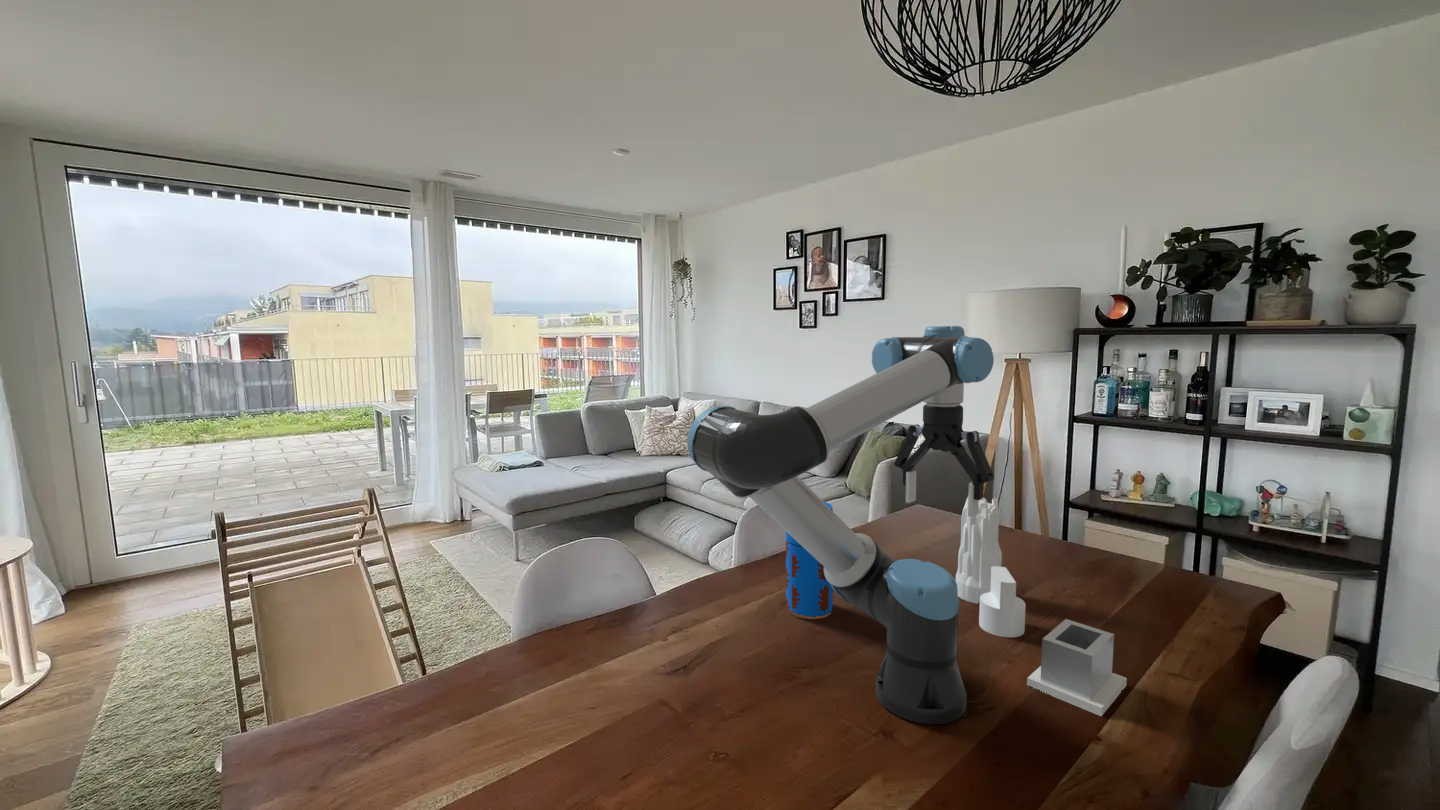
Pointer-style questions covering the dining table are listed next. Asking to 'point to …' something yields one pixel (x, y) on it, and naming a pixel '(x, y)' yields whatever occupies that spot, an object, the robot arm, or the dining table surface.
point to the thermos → (806, 581)
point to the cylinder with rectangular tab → (1002, 606)
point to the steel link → (1077, 658)
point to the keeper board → (1094, 705)
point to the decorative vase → (978, 551)
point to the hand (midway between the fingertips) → (940, 508)
